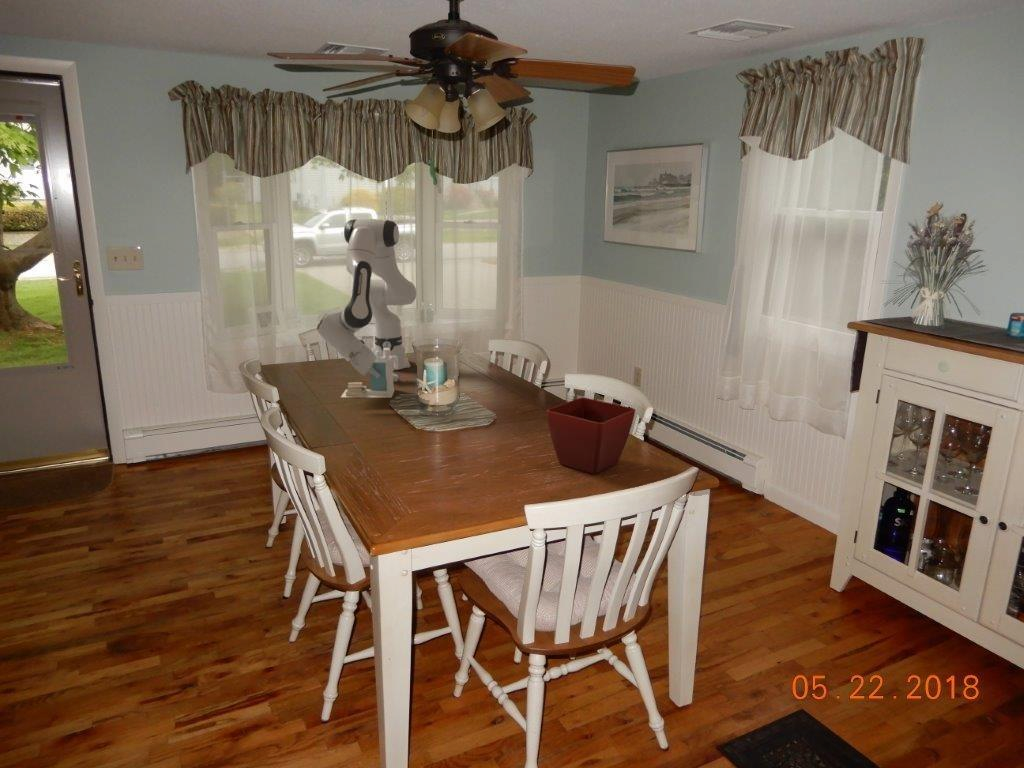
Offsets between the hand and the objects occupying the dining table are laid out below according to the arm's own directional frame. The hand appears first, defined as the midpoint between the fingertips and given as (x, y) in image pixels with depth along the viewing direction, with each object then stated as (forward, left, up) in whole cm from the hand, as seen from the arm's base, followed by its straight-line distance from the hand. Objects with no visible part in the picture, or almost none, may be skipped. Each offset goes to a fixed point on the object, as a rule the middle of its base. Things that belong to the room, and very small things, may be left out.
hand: (379, 375), depth 272 cm
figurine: (-19, 0, -9) cm, 21 cm away
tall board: (0, -1, -7) cm, 7 cm away
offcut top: (+1, -9, -5) cm, 11 cm away
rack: (0, -5, -9) cm, 10 cm away
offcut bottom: (0, -9, -7) cm, 12 cm away
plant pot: (+69, +70, -9) cm, 99 cm away
